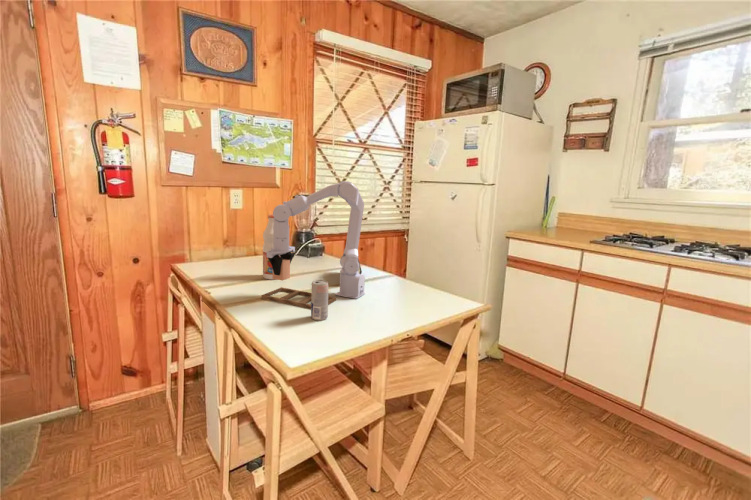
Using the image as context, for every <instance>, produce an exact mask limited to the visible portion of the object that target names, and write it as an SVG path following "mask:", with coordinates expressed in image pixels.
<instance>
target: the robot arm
mask: <svg viewBox="0 0 751 500" xmlns="http://www.w3.org/2000/svg"><path fill="white" fill-rule="evenodd" d="M329 197H334V198H335V197H336V198H337V197H338V198H339V197H340V198H341V199H343V200H345V202H346V203H347V204H348V205H349V207H350V212H349V219H348V224H347V225H348V227H347V233H346V241H345V248H344V249H343V254H342V256H341V257H340V260H339V264H340V266H341V267H342V268H341V269H340V270H339V291H338V292H336V293H334V295H335V296H337V297H345V298H350V299H355V300H358V299H359V298H361V297H362V296H364V295H365V294H366V293H365V284H366V283H365V282H366V281H365V275H364V274H362V273H361V274H359V273H358V272H359V271H358V270H359V263H360V261H359V262H358V259H359V243H360V239H361V230H362V229H361V228H362V222H363V217H364V211H365V209H364V208H365V202H364V201H363V197H362V196H361V193H360V191H359V188H358V187H357V186H356V185H355V184H354V183H353V182H351V181H349V180H347V181H346V180H344V181H343V180H342V181H340V182H338V183H333V184H330V185H327V186H326V187H323V188H320V189H319V190H317V191H315V192H313V193H311V194H310V195H309V194H308V195H307V196H305V195H302V194H301V195H298V194H296V195H295V196H294V198H292V199H290V200H287V201H286V200H285V201H283V202H282V204H278V205H276V206H275V207H274V208H273V211H272V215H273V216H274V225H273V248H271V251H269V252H266V255H267V258H268V259H269V261H270V263H271V265H272V268H273V271H274V275H280V272H281V264H282V260H283V259H287V260H290V264H292V261H293V259H294V257H295V252H296V246H291V245H290V224H289V222H290V221H289V218H290V217H294V216H297V215H299V214H302V213H303V212H305V211H308V210H309V208H310V206H311V205H312V204H314V203H317V202H319V201H322V200H324V199H326V198H329ZM279 255H280V256H279Z"/></svg>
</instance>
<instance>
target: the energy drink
mask: <svg viewBox="0 0 751 500" xmlns="http://www.w3.org/2000/svg"><path fill="white" fill-rule="evenodd" d="M310 293H311V301H310V304H311V308H310V318H311V319H312V320H314V321H317V322H318V321H319V322H320V321H325V320H327V319H328V318H329V317H328V316H329V313H328V312H329V305H328V296H329V281H327V280H321V279H318V280H313V281H312V282H311V291H310Z"/></svg>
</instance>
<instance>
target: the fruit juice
mask: <svg viewBox="0 0 751 500" xmlns="http://www.w3.org/2000/svg"><path fill="white" fill-rule="evenodd" d="M267 219H268V222H267V225H266V228H265V229H264V231H263V233H262V238H263V244H262V277H263V278H264V279H265V280H271V281H272V280H276V279H273V268H272V265H271V263H270V261H269V259H268V258H267V255H266V252H269V251H271V248H273V225H274V216H273V214H268V215H267ZM279 256H280V255H279ZM276 281H277V280H276Z"/></svg>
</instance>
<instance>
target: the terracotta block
mask: <svg viewBox="0 0 751 500" xmlns="http://www.w3.org/2000/svg"><path fill="white" fill-rule="evenodd" d="M290 278H291V263H290V260H287V259H283V260H282V264H281V272H280V275H274V271H273V279H276V281H277V280H278V281H285V280H288V279H290Z"/></svg>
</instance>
